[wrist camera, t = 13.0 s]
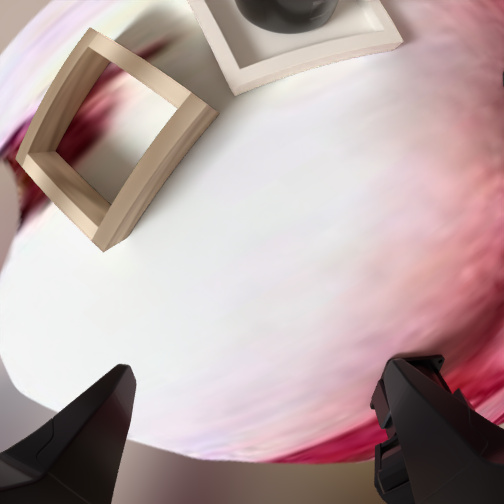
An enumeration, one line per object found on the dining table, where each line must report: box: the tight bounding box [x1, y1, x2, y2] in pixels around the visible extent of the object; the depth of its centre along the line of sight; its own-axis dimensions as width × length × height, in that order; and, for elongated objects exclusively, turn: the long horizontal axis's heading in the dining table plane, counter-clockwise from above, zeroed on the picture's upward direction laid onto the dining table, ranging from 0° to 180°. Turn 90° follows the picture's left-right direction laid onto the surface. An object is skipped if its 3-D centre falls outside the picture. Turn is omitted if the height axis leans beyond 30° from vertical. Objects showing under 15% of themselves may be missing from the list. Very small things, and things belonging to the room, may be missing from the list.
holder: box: [16, 28, 220, 252], centre depth 16 cm, size 11×11×4 cm
